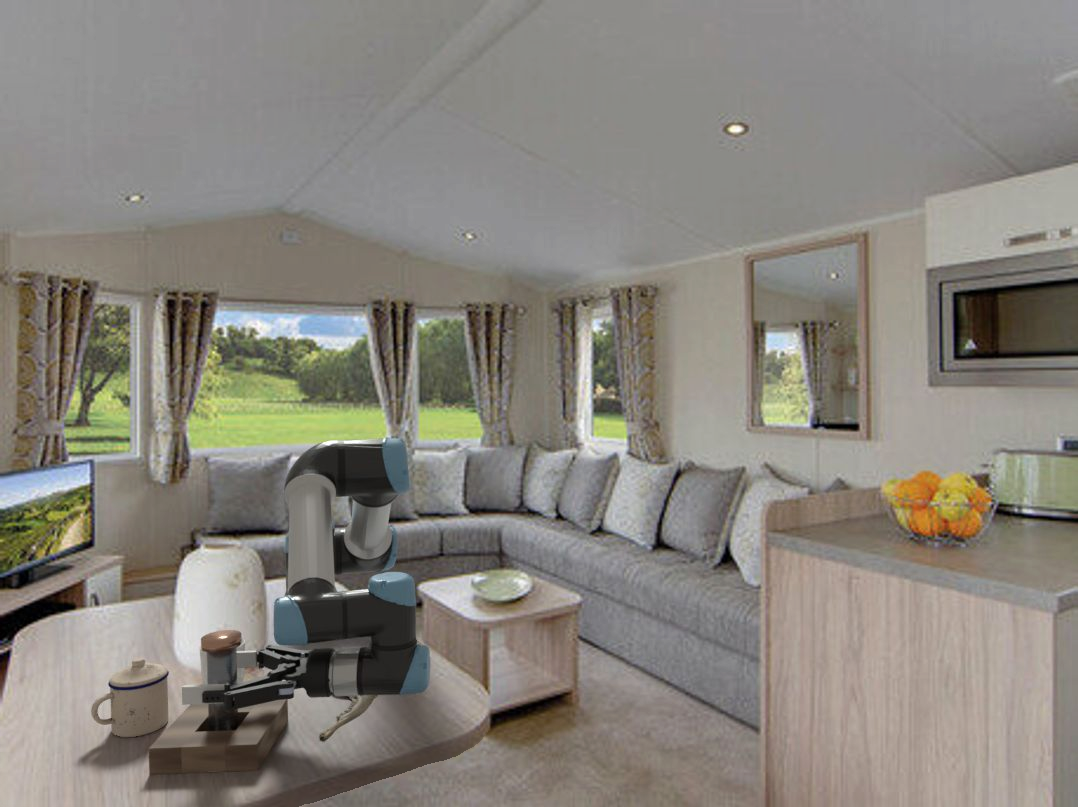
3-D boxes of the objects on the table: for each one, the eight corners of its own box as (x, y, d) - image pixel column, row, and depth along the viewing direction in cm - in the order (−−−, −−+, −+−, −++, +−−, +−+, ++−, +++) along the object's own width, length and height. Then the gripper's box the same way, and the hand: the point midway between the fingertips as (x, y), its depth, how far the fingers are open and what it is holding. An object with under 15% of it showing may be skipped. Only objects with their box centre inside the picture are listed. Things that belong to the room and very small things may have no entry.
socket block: (194, 724, 125) (193, 701, 125) (288, 720, 126) (287, 698, 126) (149, 774, 109) (148, 748, 109) (257, 770, 110) (256, 744, 110)
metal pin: (212, 737, 120) (209, 630, 120) (249, 735, 121) (246, 629, 120) (197, 755, 114) (194, 643, 114) (236, 754, 115) (233, 642, 114)
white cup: (236, 684, 142) (235, 633, 141) (253, 696, 136) (252, 643, 136) (194, 696, 136) (193, 644, 136) (210, 710, 130) (208, 655, 130)
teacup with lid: (155, 709, 131) (153, 645, 130) (179, 723, 125) (177, 657, 125) (81, 735, 121) (79, 667, 121) (104, 752, 116) (102, 680, 115)
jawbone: (377, 690, 140) (378, 679, 140) (374, 743, 120) (375, 730, 120) (329, 691, 139) (330, 680, 138) (318, 744, 118) (319, 732, 118)
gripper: (315, 731, 106) (166, 737, 104) (350, 664, 131) (230, 668, 129) (314, 681, 105) (165, 686, 104) (349, 623, 130) (229, 627, 129)
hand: (201, 676), depth 117 cm, fingers open, 13 cm apart
